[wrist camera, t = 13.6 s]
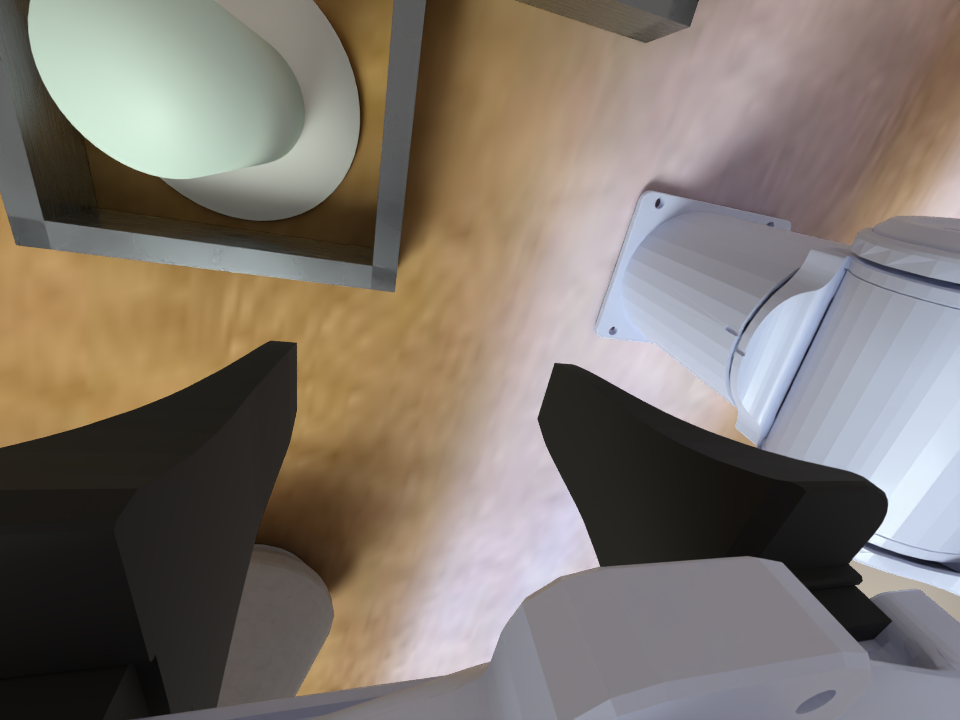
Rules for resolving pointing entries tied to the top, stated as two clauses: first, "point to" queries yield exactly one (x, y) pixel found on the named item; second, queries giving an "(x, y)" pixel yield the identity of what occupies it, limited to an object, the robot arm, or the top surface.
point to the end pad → (326, 130)
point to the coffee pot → (275, 628)
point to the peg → (167, 83)
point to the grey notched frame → (90, 230)
